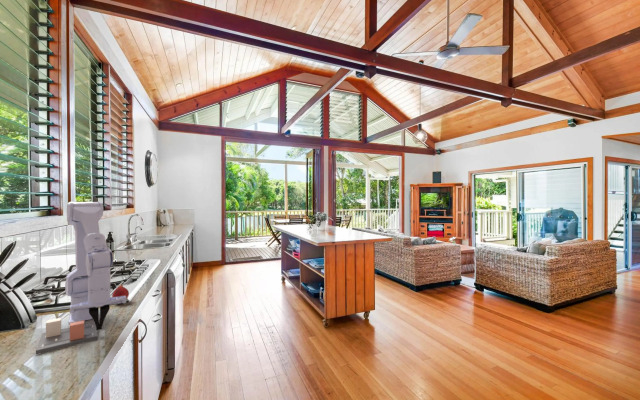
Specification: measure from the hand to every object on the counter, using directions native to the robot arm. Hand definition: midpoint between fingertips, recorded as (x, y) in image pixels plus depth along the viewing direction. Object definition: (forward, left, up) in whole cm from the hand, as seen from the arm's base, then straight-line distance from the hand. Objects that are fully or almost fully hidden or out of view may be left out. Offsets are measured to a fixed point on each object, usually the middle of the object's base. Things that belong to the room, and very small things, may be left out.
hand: (99, 328), depth 92 cm
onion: (-30, +8, -3) cm, 32 cm away
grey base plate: (-4, -7, -2) cm, 9 cm away
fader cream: (-7, -11, -1) cm, 14 cm away
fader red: (0, -5, -1) cm, 6 cm away
